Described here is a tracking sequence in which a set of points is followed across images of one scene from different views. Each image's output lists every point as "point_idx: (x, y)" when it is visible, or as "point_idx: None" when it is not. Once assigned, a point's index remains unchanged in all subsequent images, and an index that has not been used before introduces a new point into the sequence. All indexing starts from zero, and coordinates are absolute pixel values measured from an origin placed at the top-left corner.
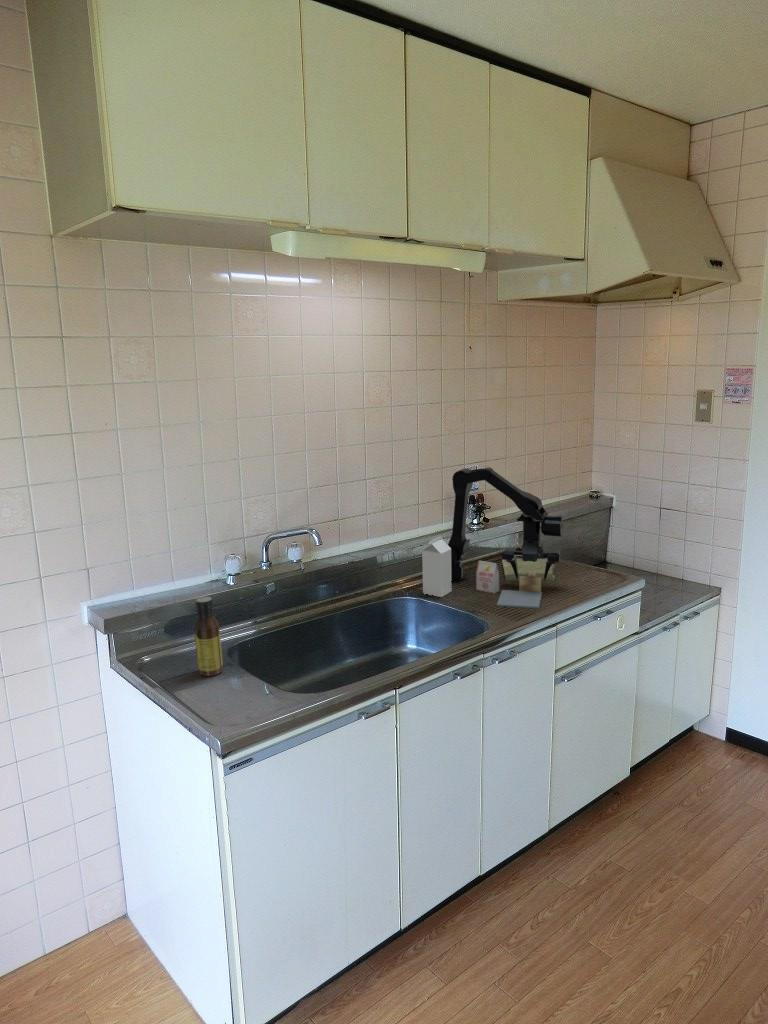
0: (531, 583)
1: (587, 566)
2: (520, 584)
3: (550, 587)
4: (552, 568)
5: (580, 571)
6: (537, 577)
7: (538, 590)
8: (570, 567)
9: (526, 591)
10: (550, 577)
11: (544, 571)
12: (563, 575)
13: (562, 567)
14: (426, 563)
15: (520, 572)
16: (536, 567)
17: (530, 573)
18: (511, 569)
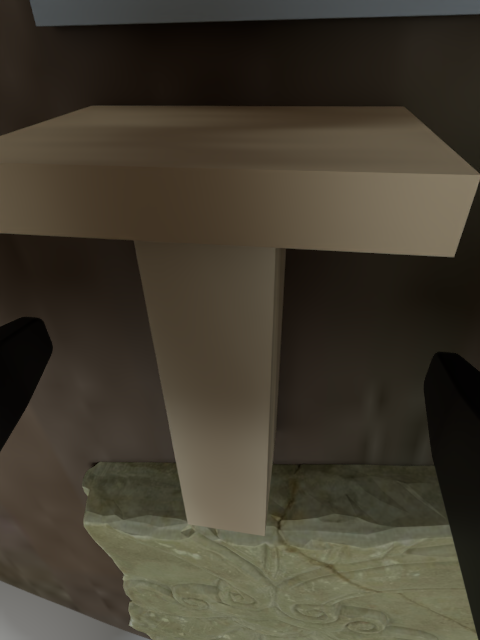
0: (182, 131)
1: (21, 589)
2: (406, 128)
3: (56, 310)
4: (124, 580)
5: (18, 553)
6: (17, 208)
7: (109, 111)
8: (85, 590)
9: (287, 5)
10: (111, 482)
11: (139, 537)
12: (72, 520)
13: (120, 594)
14: None
15: (357, 542)
16: (223, 598)
17: (241, 481)
18: (433, 598)
